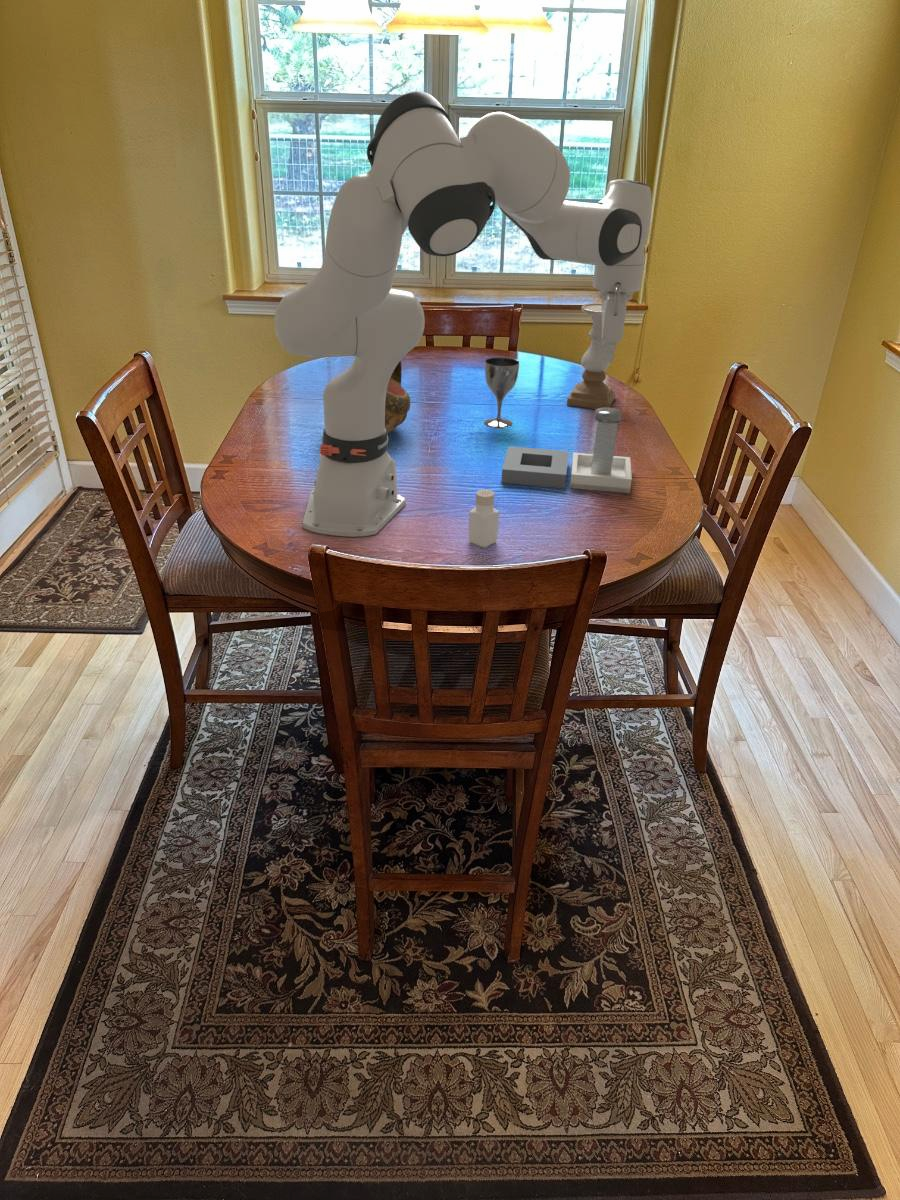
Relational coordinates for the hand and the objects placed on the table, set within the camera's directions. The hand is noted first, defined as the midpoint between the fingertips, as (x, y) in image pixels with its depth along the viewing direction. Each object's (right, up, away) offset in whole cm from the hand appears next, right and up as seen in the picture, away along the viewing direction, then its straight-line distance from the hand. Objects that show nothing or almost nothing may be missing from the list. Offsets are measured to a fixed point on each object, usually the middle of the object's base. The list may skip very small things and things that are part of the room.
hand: (607, 354), depth 155 cm
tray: (+1, -22, +13) cm, 26 cm away
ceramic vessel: (-49, -10, +31) cm, 59 cm away
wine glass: (-19, -5, +40) cm, 44 cm away
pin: (+1, -21, +12) cm, 25 cm away
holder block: (-13, -21, +14) cm, 28 cm away
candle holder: (+6, +4, +56) cm, 56 cm away
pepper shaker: (-25, -37, -12) cm, 47 cm away
